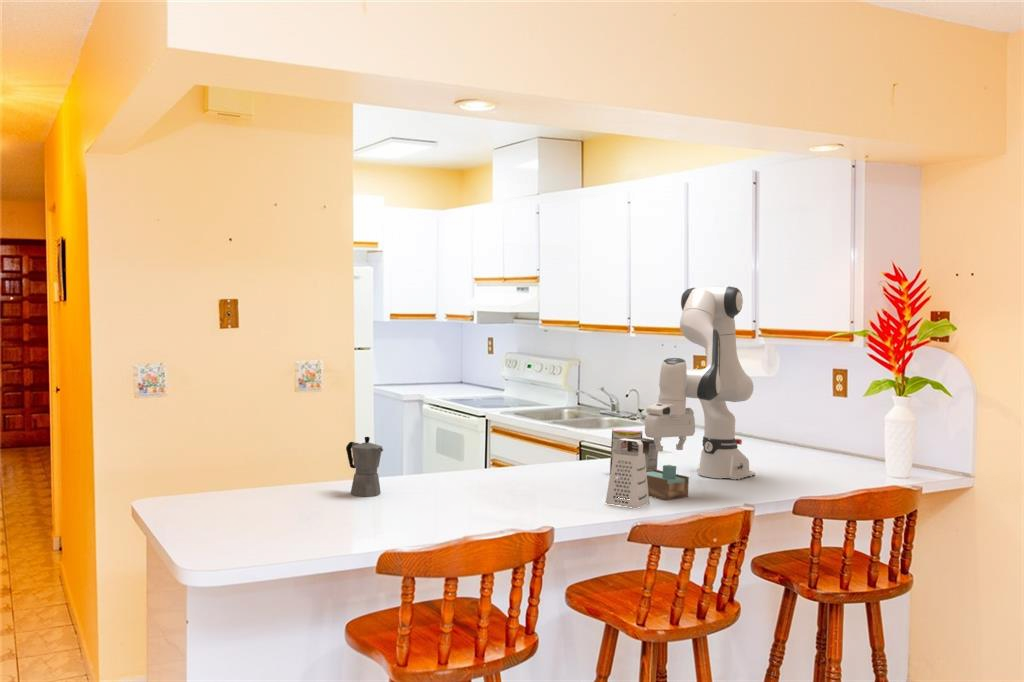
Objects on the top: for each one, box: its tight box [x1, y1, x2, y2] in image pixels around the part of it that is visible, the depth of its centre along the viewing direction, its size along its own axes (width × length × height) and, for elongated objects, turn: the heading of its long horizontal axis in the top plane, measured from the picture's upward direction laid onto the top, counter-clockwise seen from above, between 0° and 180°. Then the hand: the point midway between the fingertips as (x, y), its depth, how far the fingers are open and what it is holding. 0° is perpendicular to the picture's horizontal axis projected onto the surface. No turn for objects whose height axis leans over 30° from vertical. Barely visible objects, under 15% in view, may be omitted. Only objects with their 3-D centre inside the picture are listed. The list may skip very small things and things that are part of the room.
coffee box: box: [627, 437, 659, 470], centre depth 312 cm, size 9×6×16 cm
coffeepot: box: [345, 436, 384, 498], centre depth 284 cm, size 15×9×18 cm, turn 54°
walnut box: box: [646, 469, 690, 501], centre depth 299 cm, size 11×16×6 cm
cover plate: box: [646, 464, 685, 484], centre depth 299 cm, size 8×14×5 cm, turn 37°
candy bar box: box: [609, 428, 643, 474], centre depth 331 cm, size 11×5×16 cm, turn 84°
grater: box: [604, 438, 650, 509], centre depth 282 cm, size 10×10×20 cm
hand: (669, 450), depth 295 cm, fingers open, 8 cm apart
